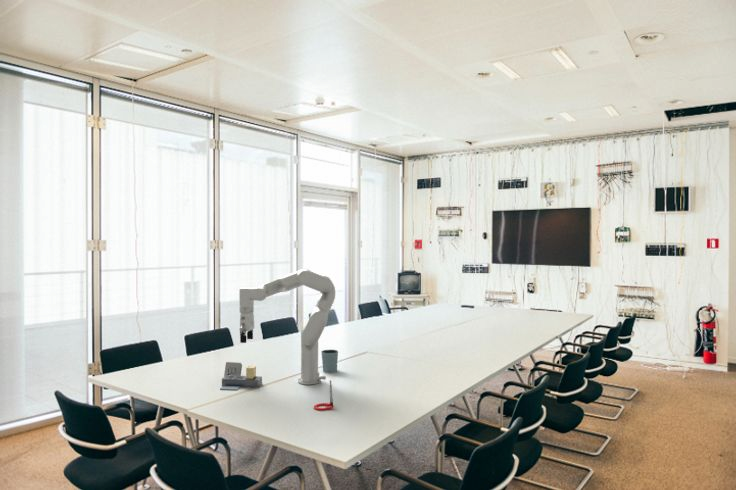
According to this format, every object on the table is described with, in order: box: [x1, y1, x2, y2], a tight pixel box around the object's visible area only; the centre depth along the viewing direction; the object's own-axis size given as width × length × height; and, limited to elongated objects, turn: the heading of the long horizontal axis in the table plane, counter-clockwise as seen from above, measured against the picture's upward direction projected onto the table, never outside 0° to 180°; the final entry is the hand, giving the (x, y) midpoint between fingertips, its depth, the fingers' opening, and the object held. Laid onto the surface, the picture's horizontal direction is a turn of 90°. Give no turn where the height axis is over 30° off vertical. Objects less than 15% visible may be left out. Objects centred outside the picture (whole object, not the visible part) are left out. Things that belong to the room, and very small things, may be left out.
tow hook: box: [313, 380, 334, 411], centre depth 232 cm, size 8×13×9 cm
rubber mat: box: [220, 386, 241, 391], centre depth 261 cm, size 9×5×1 cm, turn 84°
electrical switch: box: [223, 361, 243, 378], centre depth 282 cm, size 9×5×9 cm, turn 78°
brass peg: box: [245, 365, 257, 380], centre depth 267 cm, size 4×4×10 cm
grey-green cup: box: [321, 349, 339, 374], centre depth 298 cm, size 10×10×12 cm
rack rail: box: [221, 375, 263, 389], centre depth 268 cm, size 20×7×4 cm, turn 84°
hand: (246, 340), depth 270 cm, fingers open, 9 cm apart
